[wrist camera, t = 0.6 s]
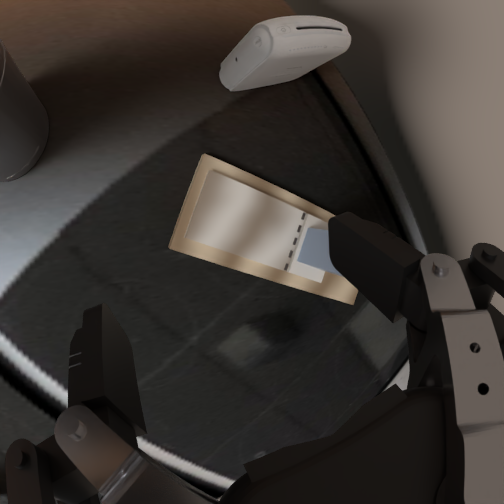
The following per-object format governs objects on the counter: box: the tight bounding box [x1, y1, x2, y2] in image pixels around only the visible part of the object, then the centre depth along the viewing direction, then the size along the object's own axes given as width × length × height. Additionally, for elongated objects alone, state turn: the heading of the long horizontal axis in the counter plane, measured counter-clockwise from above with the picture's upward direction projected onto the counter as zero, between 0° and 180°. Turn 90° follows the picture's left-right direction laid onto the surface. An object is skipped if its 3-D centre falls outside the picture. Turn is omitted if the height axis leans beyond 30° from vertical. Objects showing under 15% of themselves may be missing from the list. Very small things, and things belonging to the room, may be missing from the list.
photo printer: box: [219, 15, 351, 91], centre depth 25 cm, size 10×4×12 cm, turn 111°
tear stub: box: [287, 214, 343, 283], centre depth 30 cm, size 5×7×13 cm
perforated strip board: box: [168, 154, 358, 305], centre depth 35 cm, size 26×10×2 cm, turn 69°
